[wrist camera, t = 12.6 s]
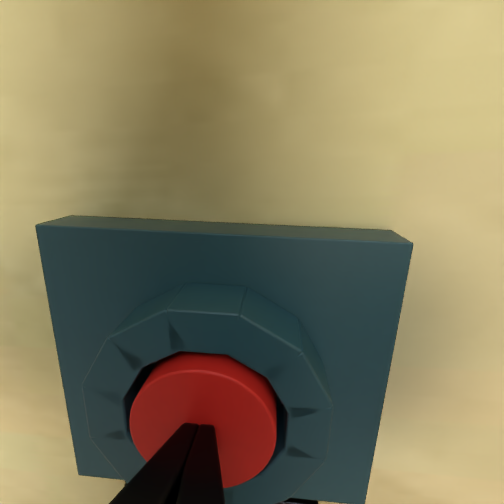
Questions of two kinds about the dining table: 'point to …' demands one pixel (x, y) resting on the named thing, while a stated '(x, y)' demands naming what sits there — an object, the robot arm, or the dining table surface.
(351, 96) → the dining table surface
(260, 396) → the red button
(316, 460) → the button housing
